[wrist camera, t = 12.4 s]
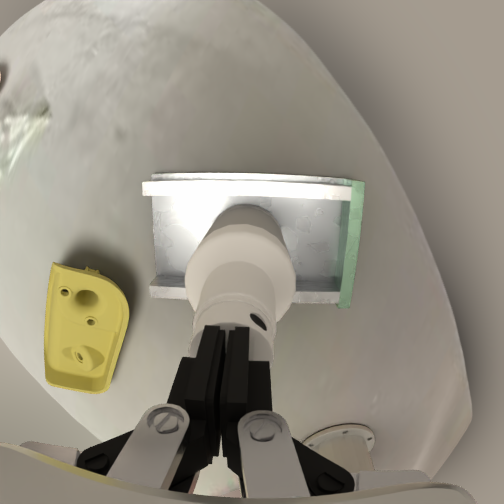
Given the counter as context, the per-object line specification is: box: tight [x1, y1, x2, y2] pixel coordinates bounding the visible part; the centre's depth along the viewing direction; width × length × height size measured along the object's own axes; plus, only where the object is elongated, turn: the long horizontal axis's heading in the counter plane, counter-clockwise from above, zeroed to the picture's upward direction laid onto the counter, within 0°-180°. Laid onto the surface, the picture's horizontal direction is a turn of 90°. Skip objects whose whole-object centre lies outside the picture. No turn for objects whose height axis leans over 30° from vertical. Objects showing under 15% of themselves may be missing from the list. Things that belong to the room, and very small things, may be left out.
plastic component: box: [44, 262, 129, 394], centre depth 31 cm, size 20×7×10 cm
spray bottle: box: [185, 204, 296, 369], centre depth 20 cm, size 7×7×18 cm
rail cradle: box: [142, 173, 365, 308], centre depth 28 cm, size 12×19×4 cm, turn 89°
